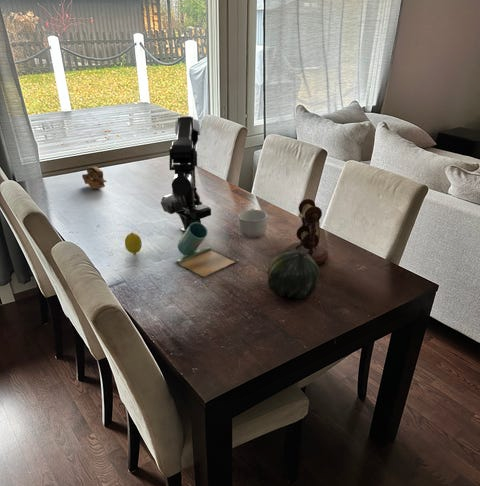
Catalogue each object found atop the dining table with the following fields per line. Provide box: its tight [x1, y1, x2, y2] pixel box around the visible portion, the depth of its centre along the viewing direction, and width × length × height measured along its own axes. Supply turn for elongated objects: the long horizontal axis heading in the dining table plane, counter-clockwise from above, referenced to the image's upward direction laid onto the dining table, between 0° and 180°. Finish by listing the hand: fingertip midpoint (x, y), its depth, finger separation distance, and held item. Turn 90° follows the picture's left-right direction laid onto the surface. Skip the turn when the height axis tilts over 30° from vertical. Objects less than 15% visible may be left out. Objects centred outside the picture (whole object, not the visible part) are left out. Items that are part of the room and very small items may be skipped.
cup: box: [176, 222, 208, 256], centre depth 145 cm, size 6×6×11 cm
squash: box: [267, 251, 320, 300], centre depth 126 cm, size 14×15×15 cm
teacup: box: [237, 207, 269, 238], centre depth 164 cm, size 14×11×8 cm
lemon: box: [124, 232, 143, 255], centre depth 148 cm, size 6×6×8 cm
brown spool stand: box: [283, 198, 329, 265], centre depth 143 cm, size 15×15×20 cm
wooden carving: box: [81, 166, 107, 190], centre depth 205 cm, size 16×5×10 cm, turn 55°
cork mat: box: [176, 246, 236, 278], centre depth 144 cm, size 13×14×1 cm
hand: (187, 230), depth 145 cm, fingers closed
